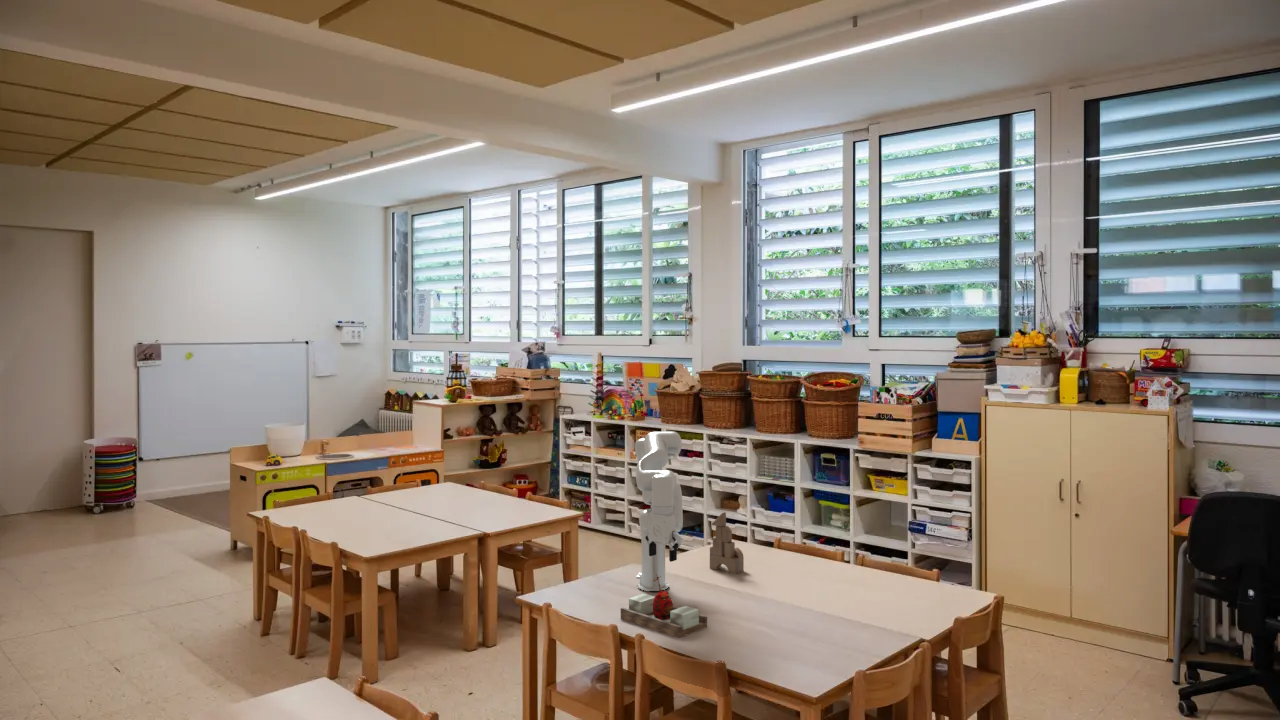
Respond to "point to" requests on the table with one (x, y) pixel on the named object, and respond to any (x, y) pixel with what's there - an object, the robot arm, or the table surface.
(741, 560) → the wooden toy
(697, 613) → the display tray
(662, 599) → the red clay folk toy
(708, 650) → the table surface
